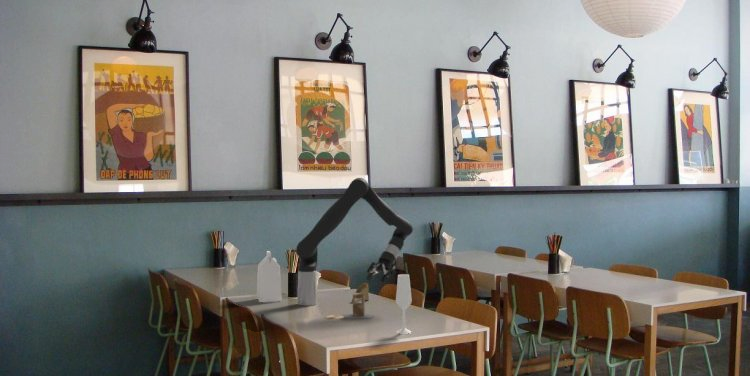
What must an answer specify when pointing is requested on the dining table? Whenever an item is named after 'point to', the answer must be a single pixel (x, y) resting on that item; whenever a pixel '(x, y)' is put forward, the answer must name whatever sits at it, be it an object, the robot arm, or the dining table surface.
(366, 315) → the blue-gray tile
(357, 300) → the walnut block
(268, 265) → the milk
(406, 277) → the champagne flute
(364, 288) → the rock
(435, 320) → the dining table surface
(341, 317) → the coaster
